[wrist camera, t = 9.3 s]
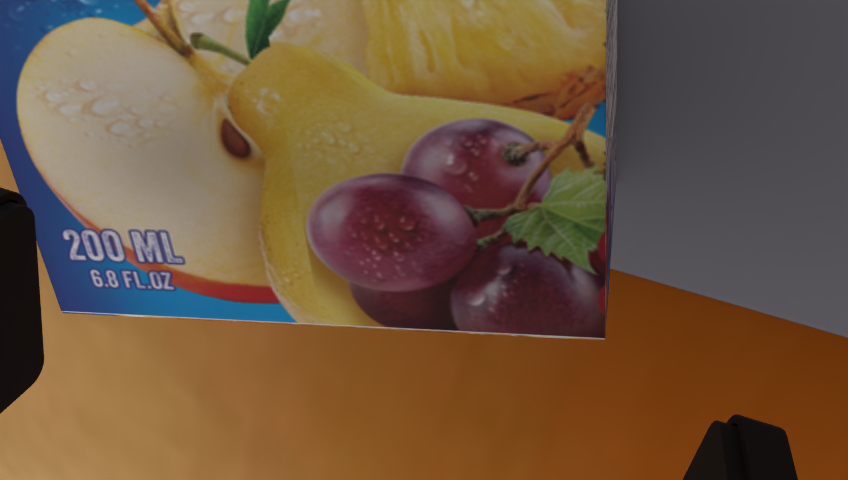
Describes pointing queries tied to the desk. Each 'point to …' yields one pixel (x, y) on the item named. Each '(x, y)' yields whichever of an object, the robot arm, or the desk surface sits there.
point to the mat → (736, 153)
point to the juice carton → (320, 159)
